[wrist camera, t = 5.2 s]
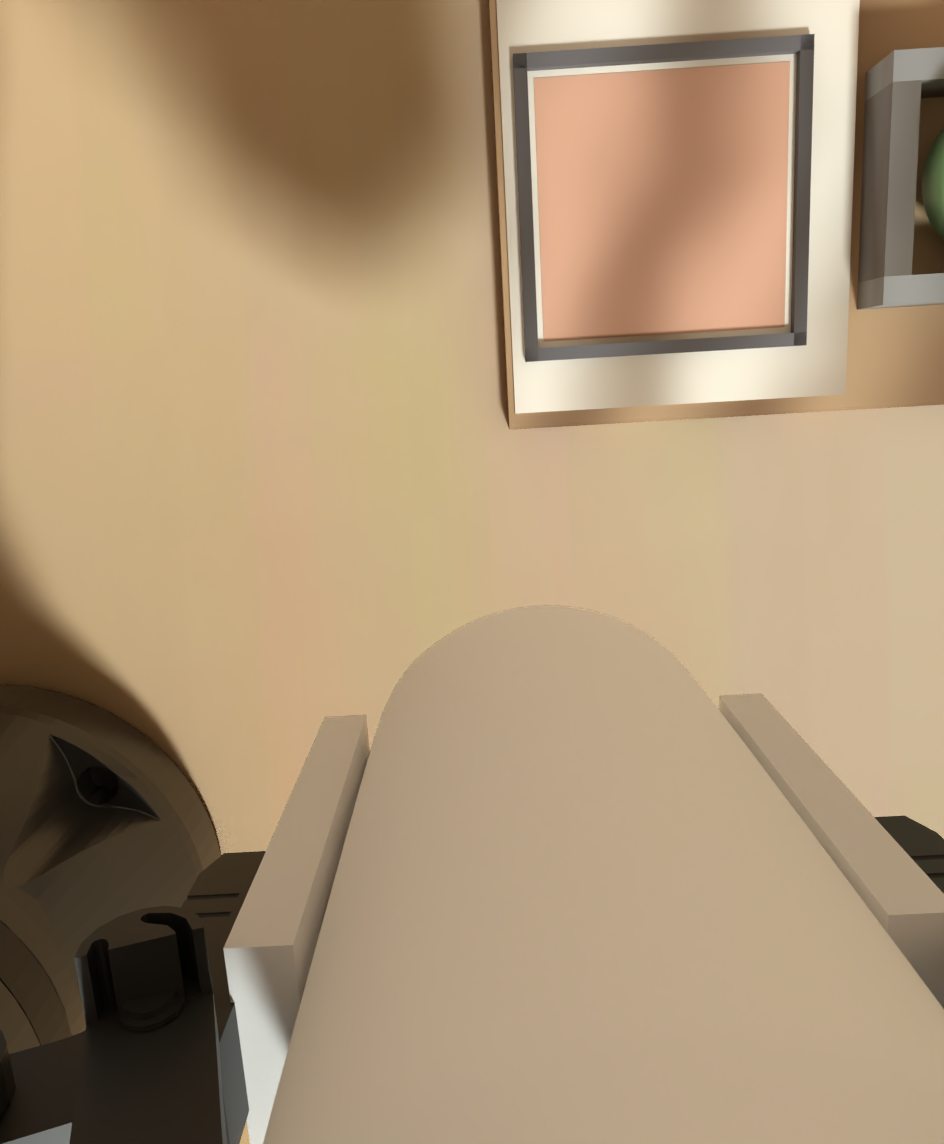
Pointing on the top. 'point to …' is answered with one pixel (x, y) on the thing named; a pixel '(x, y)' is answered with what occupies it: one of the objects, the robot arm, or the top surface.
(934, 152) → the button
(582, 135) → the tan rectangular board
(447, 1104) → the can
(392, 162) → the top surface
